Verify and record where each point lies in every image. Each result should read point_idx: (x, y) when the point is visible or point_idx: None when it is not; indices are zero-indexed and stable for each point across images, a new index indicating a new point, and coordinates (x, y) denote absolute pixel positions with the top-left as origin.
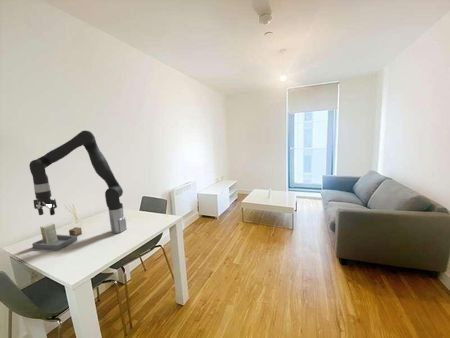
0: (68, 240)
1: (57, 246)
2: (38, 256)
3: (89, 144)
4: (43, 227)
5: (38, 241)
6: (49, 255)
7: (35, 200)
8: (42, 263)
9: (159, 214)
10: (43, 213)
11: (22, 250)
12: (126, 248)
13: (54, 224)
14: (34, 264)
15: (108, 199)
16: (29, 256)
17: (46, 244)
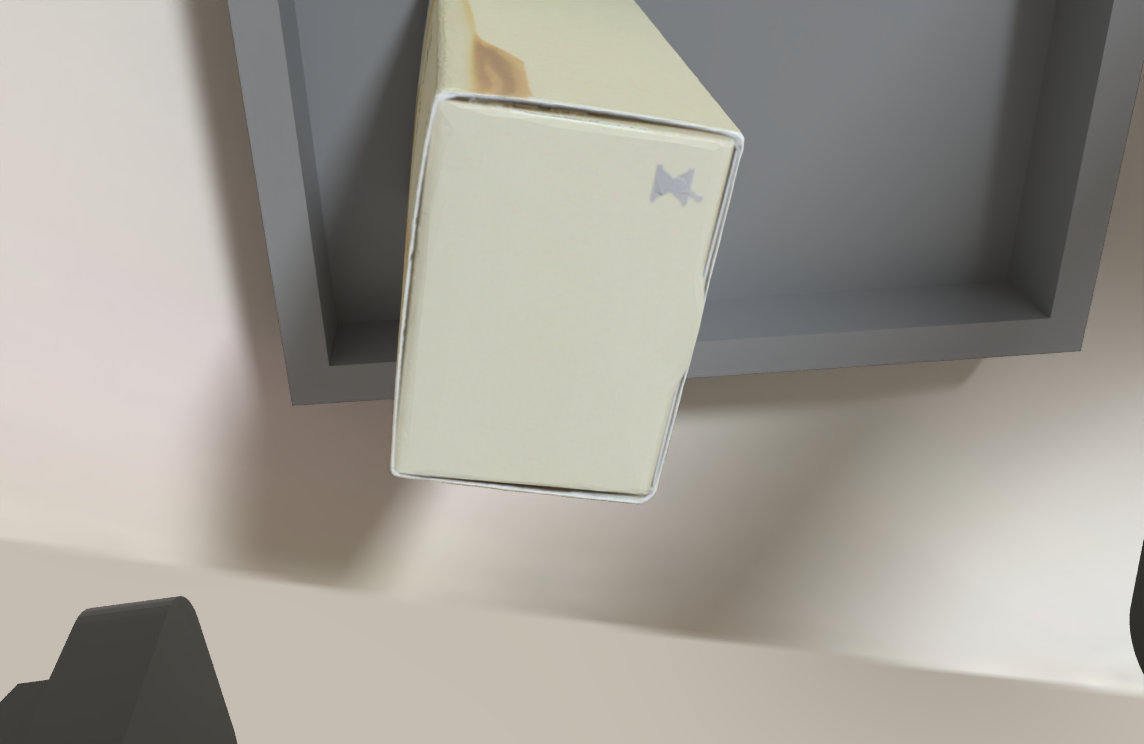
0: (1137, 71)
1: (1073, 344)
2: (819, 527)
3: None
4: (615, 491)
5: (319, 293)
6: (1005, 462)
7: None
8: (1102, 631)
9: None
10: (162, 610)
11: (188, 465)
12: None
13: (740, 138)
14: (994, 673)
15: None
16: (639, 564)
17: (730, 356)
